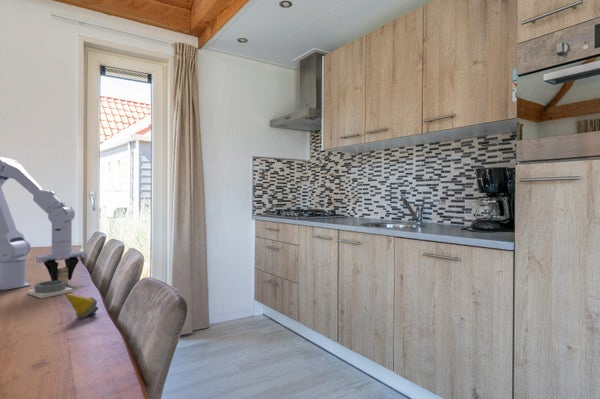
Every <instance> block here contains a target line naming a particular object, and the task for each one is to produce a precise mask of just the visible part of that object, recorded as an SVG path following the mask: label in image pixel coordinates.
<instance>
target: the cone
mask: <svg viewBox="0 0 600 399" xmlns="http://www.w3.org/2000/svg"><path fill="white" fill-rule="evenodd" d="M64 295H65V297H66V299H67V301H69V303H70V305H71V306H72V308H73V309H74V311H75V312H76V313H75V316H76V317H77V318H79V319H85V318H86V317H88V316H89V315H91V314H92V315H97V313H96V312H97V311H98V310H99V307H98V306H97V304H98V300H96V299H95V298H93V297H89V298H88V297H83V296H79V295H73V294H69V293H64ZM92 315H91V316H92Z"/></svg>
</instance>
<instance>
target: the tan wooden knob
mask: <svg viewBox="0 0 600 399" xmlns="http://www.w3.org/2000/svg"><path fill="white" fill-rule="evenodd" d="M68 274H69V267H66V266H58V268H57V280H62V281H66V287H68V286H69V280H68Z"/></svg>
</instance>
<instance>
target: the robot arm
mask: <svg viewBox="0 0 600 399" xmlns="http://www.w3.org/2000/svg"><path fill="white" fill-rule="evenodd" d="M9 179H12V180H15V181H16V182H17V183H18V184H19V185H21V186H22V187H23V188H25V190H26V191H28V192H29V193H30V194H31V195H32V196H33V198H32V199H33V202H34V203H36V205H37V206H38V207H39V208H41V210H43V212H45V213H46V214H47V217H48V218H47V219H48V221H49V222H50V223H51V254H45V255H38V256H36V258H35V263H38V264H42V263H43V265H44V266H45V267H46V270H47V272H48V274H49V276H50V281H55V280H57V268H58V267H59V262H57V261H61V260H64V263H65V267H69V274H68V281H71V280H72V278H73V274H74V271H75V269H76V267H77V265H78V264H79V262H80V259H79V258H85V257H86V252H85V251H82V250H81V251H72V250H73V248H72V246H73V245H72V242H73V240H72V234H73V233H72V231H73V230H72V223H73V222H72V221H73V220H74V218H75V216H76V213H75V211H74V209H73V207H71V206H69V205H66V203H65V202H64V201H61V200H60V199H59V198H58V197H57V196H56V192H55V191H53V190H50V189H43V188H42V187H41V186H40V184H38V182H37V181H36V180H35V179H34V178H33V177H32V176H31V175H30V174H29V173H28V172H27V171H26V169H25V168H24V166H23V165H22V164H20V163H18V161H17V160H16V159H14V158H12V157H3V156H0V290H1V291H6V290H7V291H8V290H11V289H12V290H13V289H17V288H24V287H29V286H31V285H32V284H31V283H29V282H27V255H29V253H30V251H31V244H30V243H29V241H28V240H26V238H25V237H24V234H23V233H21V232H20V231H19V230H18V229H17V227H16V224H15V220H14V218H13V216H12V213H11V210H10V206H9V204H8V202H7V200H6V196H5V194H4V191H3V188H2V186H3V185H4V184H5V183H6V181H8V180H9Z"/></svg>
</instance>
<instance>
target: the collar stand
mask: <svg viewBox="0 0 600 399" xmlns="http://www.w3.org/2000/svg"><path fill="white" fill-rule="evenodd" d="M73 292H74V288H72V287H69V286H66V281H62V280H55V281H51V280H46V281H42V282H37V283H35V284H34V289H29V290H27V295H31V296H34V297H36V298H38V299H44V298H48V297H53V296H59V295H65V294H69V293H73Z"/></svg>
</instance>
